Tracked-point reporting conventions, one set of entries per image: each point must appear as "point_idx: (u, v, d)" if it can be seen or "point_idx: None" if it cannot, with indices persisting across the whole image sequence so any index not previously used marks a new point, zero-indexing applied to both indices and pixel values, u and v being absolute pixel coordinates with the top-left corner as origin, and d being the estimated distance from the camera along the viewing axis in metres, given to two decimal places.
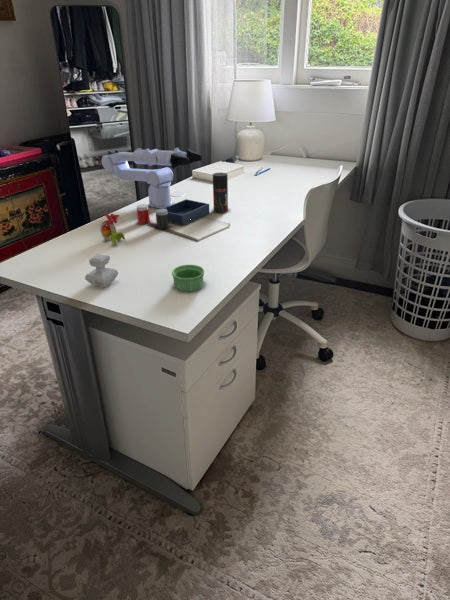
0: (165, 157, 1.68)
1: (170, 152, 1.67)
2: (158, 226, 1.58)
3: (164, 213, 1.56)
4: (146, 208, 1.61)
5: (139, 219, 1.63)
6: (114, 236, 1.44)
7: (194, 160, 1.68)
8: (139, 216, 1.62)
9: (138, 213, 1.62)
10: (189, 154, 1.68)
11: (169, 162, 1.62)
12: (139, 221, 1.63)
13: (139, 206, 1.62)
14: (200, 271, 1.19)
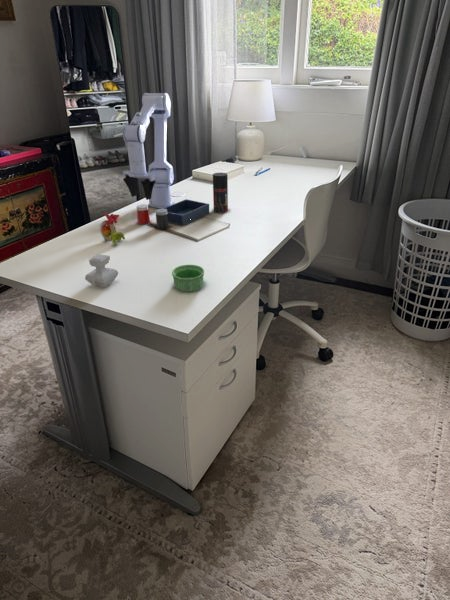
0: None
1: (130, 168, 1.54)
2: (158, 226, 1.58)
3: (164, 213, 1.56)
4: (146, 208, 1.61)
5: (139, 219, 1.63)
6: (114, 236, 1.44)
7: None
8: (139, 216, 1.62)
9: (138, 213, 1.62)
10: None
11: None
12: (139, 221, 1.63)
13: (139, 206, 1.62)
14: (200, 271, 1.19)
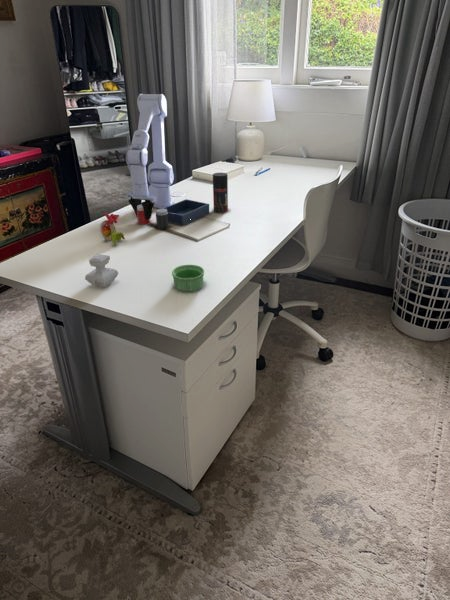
0: None
1: (133, 190, 1.58)
2: (158, 226, 1.58)
3: (164, 213, 1.56)
4: None
5: (140, 219, 1.63)
6: (114, 236, 1.44)
7: None
8: (139, 216, 1.62)
9: (138, 213, 1.62)
10: None
11: None
12: (139, 221, 1.63)
13: (139, 206, 1.62)
14: (200, 271, 1.19)
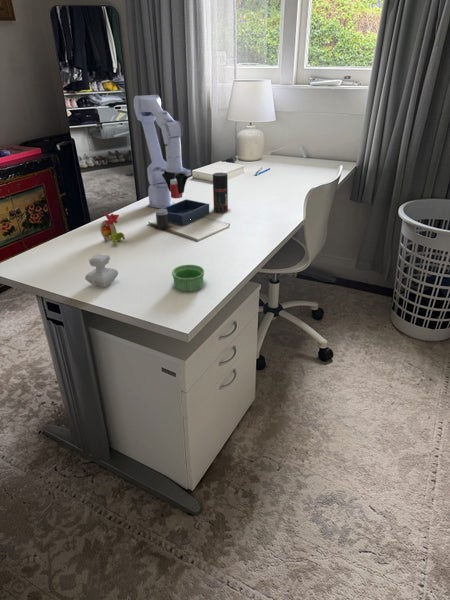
0: None
1: (167, 163, 1.60)
2: (158, 226, 1.58)
3: (164, 213, 1.56)
4: None
5: (173, 193, 1.64)
6: (114, 236, 1.44)
7: None
8: (172, 190, 1.64)
9: (171, 187, 1.64)
10: None
11: None
12: (172, 195, 1.65)
13: (172, 180, 1.63)
14: (200, 271, 1.19)
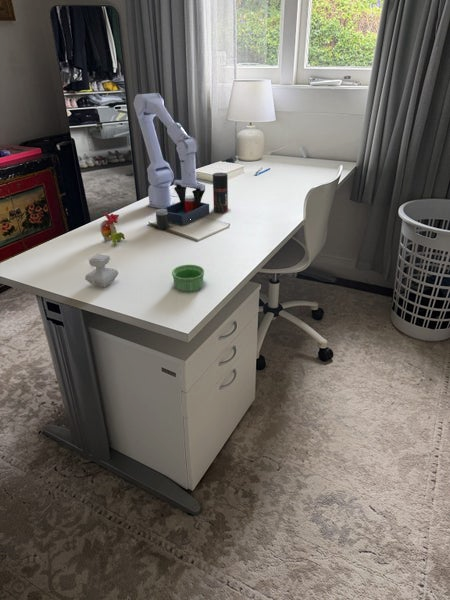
0: None
1: (182, 178, 1.65)
2: (158, 226, 1.58)
3: (164, 213, 1.56)
4: (194, 199, 1.69)
5: (187, 209, 1.70)
6: (114, 236, 1.44)
7: None
8: (187, 206, 1.70)
9: (186, 204, 1.70)
10: None
11: None
12: (187, 211, 1.71)
13: (187, 197, 1.69)
14: (200, 271, 1.19)
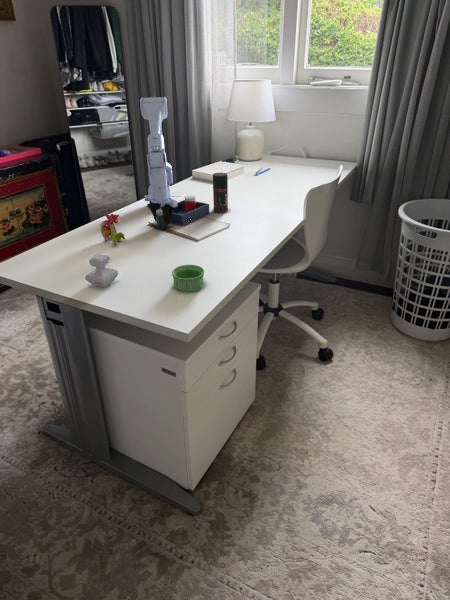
0: None
1: (152, 194, 1.53)
2: (158, 226, 1.58)
3: None
4: (194, 199, 1.69)
5: (187, 209, 1.70)
6: (114, 236, 1.44)
7: None
8: (187, 206, 1.70)
9: (186, 204, 1.70)
10: None
11: None
12: (187, 211, 1.71)
13: (187, 197, 1.69)
14: (200, 271, 1.19)
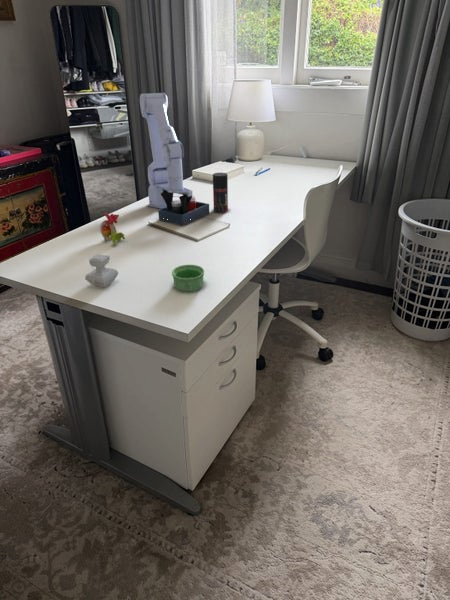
0: None
1: (168, 183, 1.60)
2: None
3: (179, 204, 1.63)
4: (194, 199, 1.69)
5: None
6: (114, 236, 1.44)
7: None
8: None
9: None
10: None
11: None
12: None
13: None
14: (200, 271, 1.19)
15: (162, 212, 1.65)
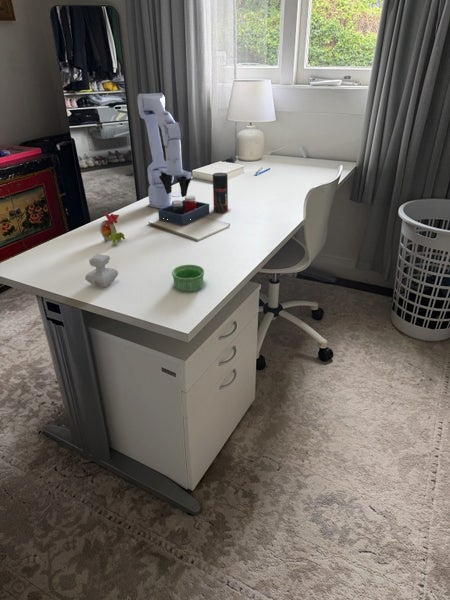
0: None
1: (167, 165, 1.56)
2: None
3: (179, 204, 1.63)
4: (194, 199, 1.69)
5: (187, 209, 1.70)
6: (114, 236, 1.44)
7: None
8: (187, 206, 1.70)
9: (186, 204, 1.70)
10: None
11: None
12: (187, 211, 1.71)
13: (187, 197, 1.69)
14: (200, 271, 1.19)
15: (162, 212, 1.65)
